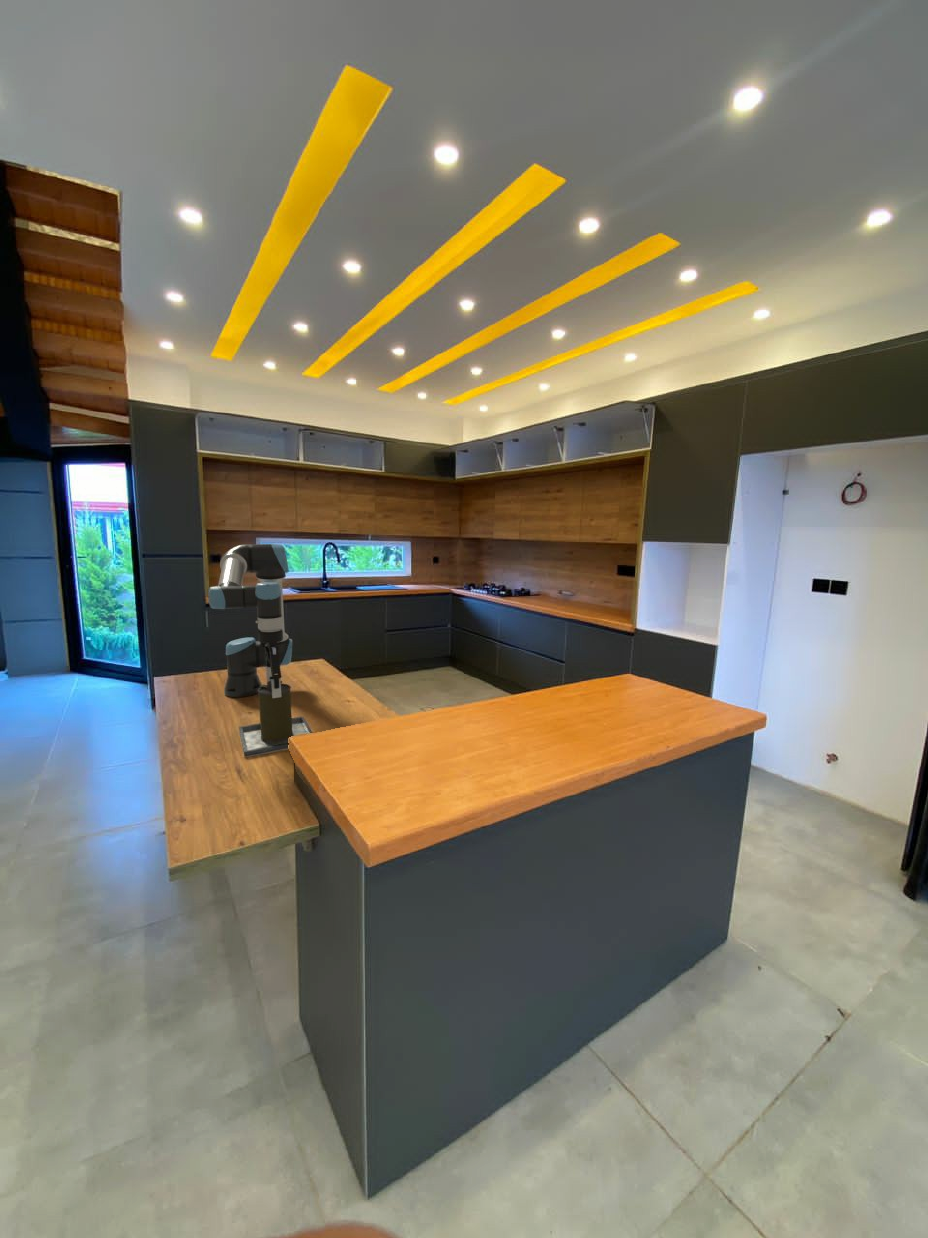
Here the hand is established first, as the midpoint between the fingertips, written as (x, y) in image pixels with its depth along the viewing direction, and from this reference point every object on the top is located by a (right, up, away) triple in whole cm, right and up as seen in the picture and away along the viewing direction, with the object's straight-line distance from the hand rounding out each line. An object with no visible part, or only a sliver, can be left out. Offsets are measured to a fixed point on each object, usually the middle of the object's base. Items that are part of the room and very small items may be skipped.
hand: (274, 691), depth 163 cm
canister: (0, -16, +3) cm, 17 cm away
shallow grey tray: (0, -16, +3) cm, 17 cm away
